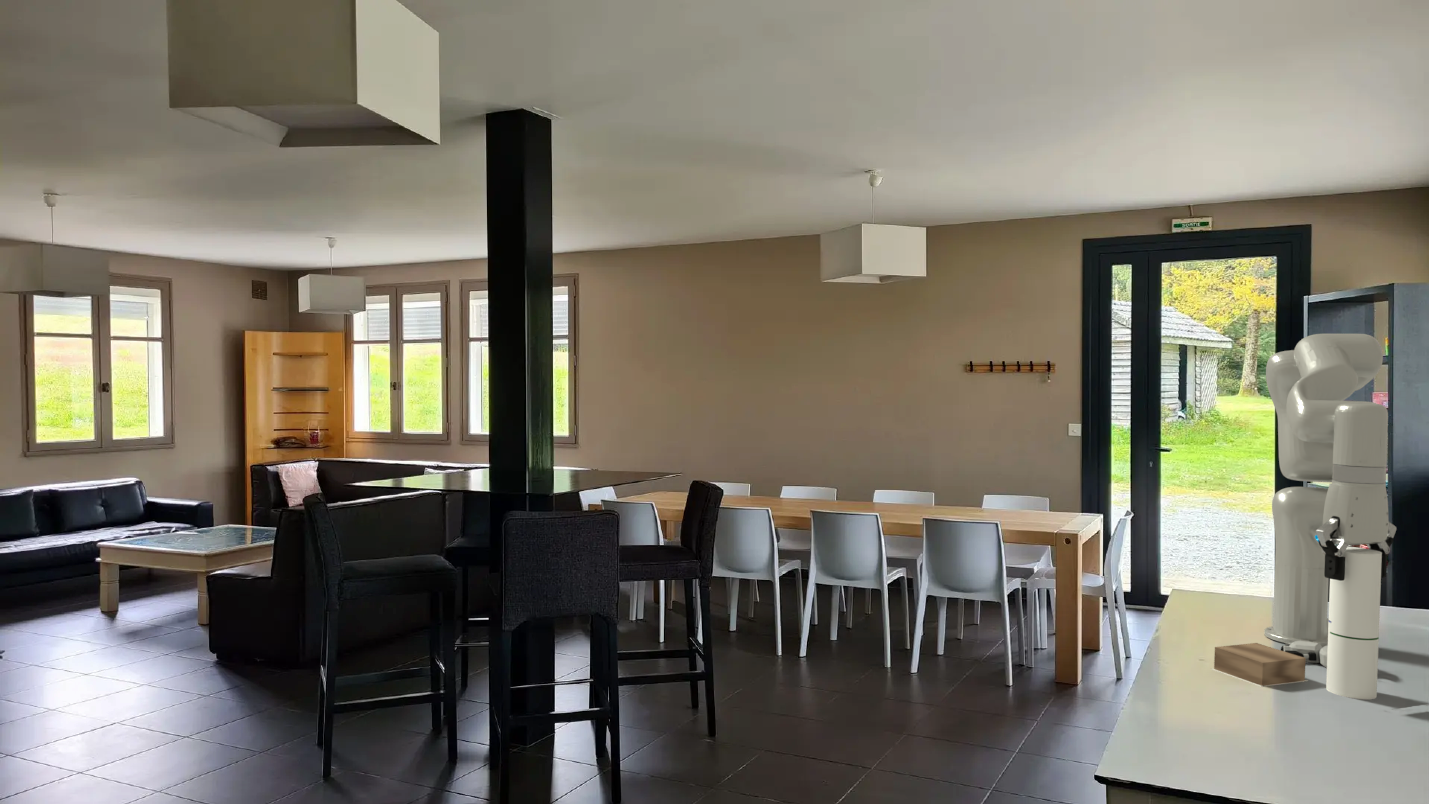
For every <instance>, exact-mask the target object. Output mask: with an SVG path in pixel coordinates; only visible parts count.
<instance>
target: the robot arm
mask: <svg viewBox="0 0 1429 804" xmlns="http://www.w3.org/2000/svg"><path fill="white" fill-rule="evenodd" d="M1383 355H1384V354H1383V349H1382V346H1381V344H1380V342H1379V341H1378V339H1377V338H1375V337H1374V336H1372V335H1369V334H1366V333H1316V334H1311V335H1307V336H1305V337H1304V338H1301V340H1299V341H1298V342H1297V343H1296V345H1295V347H1294V349H1291V350H1284V351H1279V352H1275V353H1274V354H1272V355H1270V356H1269V358H1268V359H1267V362H1266V366H1265V367H1266V368H1265V379H1266V386H1267V389H1268V392H1269V393H1268V394H1269V396H1270V398H1271V401H1272V402H1273V406H1274V408H1275V411H1276V416H1277V432H1278V433H1277V435H1278V442H1277V444H1278V461H1279V462H1278V463H1279V469H1280V472H1281V474H1282V476H1283V477H1285V478H1286V479H1288V480H1291V481H1299V482H1310V483H1311V482H1312V483H1313V482H1316V483H1329V485H1328V488H1326V487H1312V486H1290V487H1285V488H1282V489H1280V490H1278V491H1277V492H1275V494H1274V495H1273V498H1272V501H1271V508H1272V509H1271V510H1272V511H1271V512H1272V518H1273V525H1274V536H1275V539H1274V540H1275V553H1274V554H1275V556H1274V560H1275V562H1274V584H1273V585H1274V587H1273V590H1274V591H1273V616H1272V617H1273V619H1272V623H1273V624H1272V626H1268V627H1266V628H1265V629H1264V631H1263V632H1264V636H1265V637H1267V638H1268V639H1270V640H1272V641H1273V640H1274V641H1276V642H1279V643H1282V644H1287V643H1293V642H1295V641H1306V642H1313V643H1319V644H1320V645H1321V646H1322V648H1323V647H1324V646H1327V645H1328V623H1329V617H1328V612H1329V583H1330V579H1334V580H1339V581H1343V580H1344V579H1345V557H1343V556H1342V555H1343V553H1344V551H1345V550H1346V548H1347V547H1349V546H1355V545H1356V546H1357V545H1358V546H1360V545H1366V546H1367V549H1371V550H1376V551H1380V552H1382V561H1381V579H1382V578H1387V563H1388V561H1387V560H1388V554H1390V552H1391V549H1390V547H1391V546H1392V544H1393V543H1394V537H1395V534H1396V531H1397V526H1395V525H1394V524H1393V523H1391V522H1390V521H1389V502H1388V501H1389V500H1388V492H1387V488H1386V486H1387V484H1386V481H1387V480H1386V479H1387V455H1388V452H1387V451H1388V428H1389V427H1388V425H1389V424H1388V423H1389V412H1388V409H1387V408H1386V407H1385V405H1383V404H1380V403H1376V402H1372V401H1361V400H1359V401H1358V400H1346V399H1348V398H1350V397H1351V396H1352V395H1353V393H1354V392H1355V391H1360V390H1361V389H1362V388H1364V387H1365V386H1366V385H1367V384H1368V383H1369V382H1371V381H1372V380H1373V379H1374V378H1376V376H1377V375H1378V374H1379V372H1380V371H1381V369H1382V365H1383V361H1384V359H1383V358H1384V356H1383ZM1316 536H1317V539H1318V540H1317V539H1316Z"/></svg>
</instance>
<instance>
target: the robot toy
mask: <svg viewBox="0 0 1429 804" xmlns="http://www.w3.org/2000/svg"><path fill="white" fill-rule="evenodd" d="M1280 650H1281V651H1284V652H1288V653H1291V654H1294V655H1297V656H1301V657H1304V658H1306V659H1305V663H1309V664H1319V663H1320V664H1321V665H1322V666H1323V667H1324V668H1326V669H1327V651H1328V645H1327V646H1324V647H1322V646H1321V645H1320V644H1319V643H1313V642H1306V641H1295V642H1293V643H1284V645H1282V646H1281V647H1280Z"/></svg>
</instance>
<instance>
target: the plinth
mask: <svg viewBox="0 0 1429 804" xmlns="http://www.w3.org/2000/svg"><path fill="white" fill-rule="evenodd" d="M1305 659H1306V658H1304V657H1301V656H1297V655H1294V654H1291V653H1288V652H1284V651H1281V649H1278V648H1274V647H1271V646H1267V645H1264V644H1261V643H1258V642H1251V643H1243V644H1233V645H1231V644H1230V645H1223V646H1222V645H1221V646H1215V647H1214V660H1213V661H1214V662H1213V664H1214V665H1213V669H1216V670H1218V671H1221V672H1224V673H1227V674H1230V675H1233V676H1235V677H1238V678H1241V679H1244V680H1247V681H1250V682H1252V683H1255V684H1258V685H1261V686H1263V687H1266V686H1265V685H1272V686H1274V685H1273V684H1280V685H1283V684H1282V683H1288V684H1291V683H1290V682H1296V683H1299V682H1298V681H1304V682H1306V681H1305V680H1306V662H1305Z"/></svg>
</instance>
